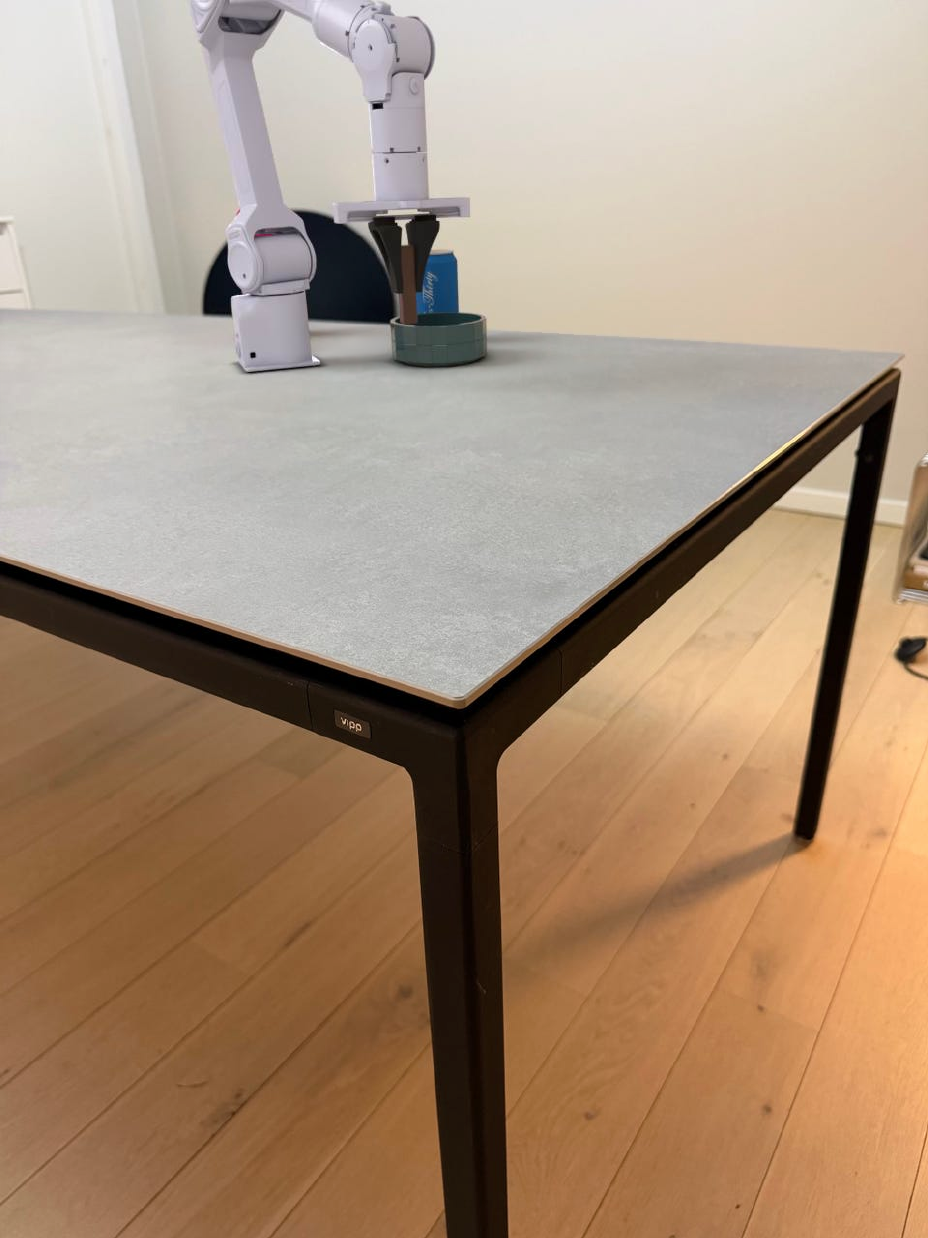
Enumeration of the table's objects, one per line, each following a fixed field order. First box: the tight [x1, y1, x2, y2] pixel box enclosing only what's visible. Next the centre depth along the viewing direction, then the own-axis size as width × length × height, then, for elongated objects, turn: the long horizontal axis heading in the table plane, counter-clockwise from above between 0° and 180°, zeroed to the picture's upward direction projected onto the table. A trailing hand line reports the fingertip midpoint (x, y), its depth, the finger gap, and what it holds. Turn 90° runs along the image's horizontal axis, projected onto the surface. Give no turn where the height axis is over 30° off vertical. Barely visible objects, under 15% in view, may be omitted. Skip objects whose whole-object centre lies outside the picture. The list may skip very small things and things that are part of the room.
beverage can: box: [416, 248, 460, 314], centre depth 129 cm, size 6×6×12 cm
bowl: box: [389, 311, 488, 368], centre depth 118 cm, size 12×12×5 cm
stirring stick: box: [398, 243, 418, 324], centre depth 100 cm, size 2×2×8 cm
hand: (407, 292), depth 101 cm, fingers closed on stirring stick, 1 cm apart
